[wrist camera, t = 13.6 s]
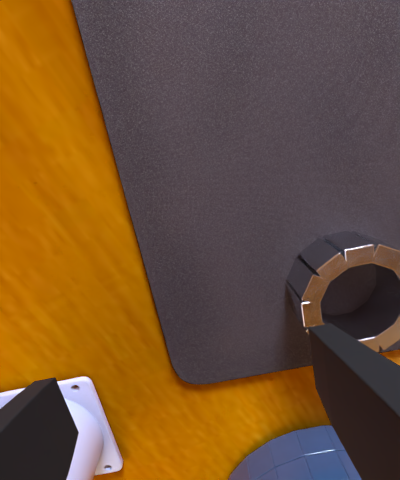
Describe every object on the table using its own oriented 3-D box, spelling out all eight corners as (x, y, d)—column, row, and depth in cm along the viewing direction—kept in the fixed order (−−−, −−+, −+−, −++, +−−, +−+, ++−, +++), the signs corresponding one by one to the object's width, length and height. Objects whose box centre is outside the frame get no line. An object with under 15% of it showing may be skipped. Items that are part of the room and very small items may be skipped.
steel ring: (293, 337, 19) (308, 366, 16) (280, 244, 17) (294, 260, 14) (394, 317, 18) (425, 343, 16) (390, 220, 17) (425, 233, 14)
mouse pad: (506, 327, 19) (509, 329, 19) (178, 387, 20) (178, 389, 19) (562, -212, 12) (569, -219, 12) (48, -84, 13) (46, -88, 12)
